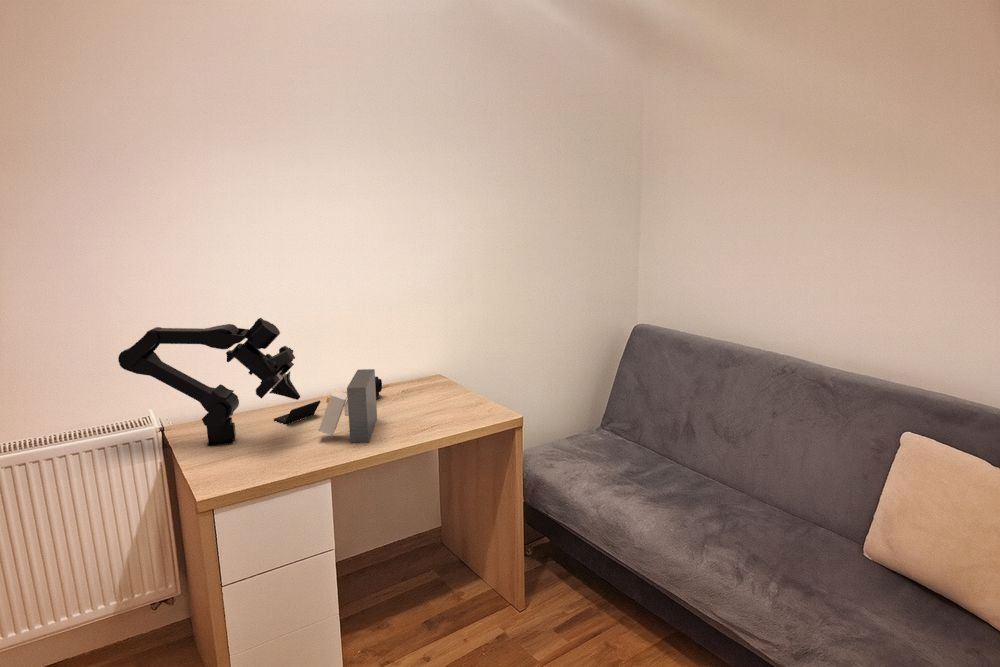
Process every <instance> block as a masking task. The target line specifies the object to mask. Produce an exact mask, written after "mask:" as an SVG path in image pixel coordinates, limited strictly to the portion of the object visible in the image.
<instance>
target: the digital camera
mask: <svg viewBox="0 0 1000 667" xmlns="http://www.w3.org/2000/svg"><path fill="white" fill-rule="evenodd" d="M375 387H376V399H378V398H379V397H380V393H381V392H382V388H383V382H382V378H379V376H375ZM378 396H379V397H378Z"/></svg>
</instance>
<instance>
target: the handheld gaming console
mask: <svg viewBox="0 0 1000 667" xmlns="http://www.w3.org/2000/svg"><path fill="white" fill-rule="evenodd" d="M321 403H322V402H321V400H317V401H315V402H314V401H313V402H311V403H308V404H304V405H302V406H299V407H296V408H293V409H291V410H290V412H289V413H287V414H283V415H280V416H277V417H274V418H273V422H275V421H277V422H276V423H278V422H280V423H279V424H281V423H283V424H282V425H285V424H287V425H290V424H292V422H293V423H295V422H294V421H296V422H298V421H301V420H304V419H306V418H309V417H312V416H314V414H315V415H316V412H317V409H318V408H319V405H320V404H321ZM311 415H312V416H311ZM308 416H309V417H308ZM305 417H306V418H305ZM303 418H304V419H303ZM300 419H301V420H300ZM297 420H298V421H297ZM289 423H290V424H289Z"/></svg>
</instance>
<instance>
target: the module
mask: <svg viewBox="0 0 1000 667" xmlns="http://www.w3.org/2000/svg"><path fill="white" fill-rule="evenodd" d="M347 400H348V397H347V393H345V392H343V391H340V390H338V389H337V390H336V389H334V390H333V391H332V393H331V394H329V395H328V396H327V398H326V401H325V403H326V404H327V405H326V408H325V410H324V414H323V416H322V419H321V422H320V425H319V428H318V430H317V431H318V432H321V433H323V434H325V435H326V434H327V435H329V436H333V435H334V433H335V431H336V429H337V427H338V423H339V421H340V418H341V415H342V412H343V410H344V405H345V403H346V402H347Z"/></svg>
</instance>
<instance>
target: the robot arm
mask: <svg viewBox="0 0 1000 667" xmlns="http://www.w3.org/2000/svg"><path fill="white" fill-rule="evenodd" d="M280 334H281V332H280V329H279V328H278V327H277V326H276V325H275V324H274V323H271V322H270V321H268V320H265V319H263V318H262V317H259V318H257V320H255V322H254V323H253V325H252V326H251V327H250V328H242V327H237V326H236V325H235V324H232V323H227V324H220V325H215V326H211V327H205V328H200V327H199V328H188V327H186V328H183V327H181V328H180V327H175V328H174V327H159V326H157V327H153V328H151V329H149V330H148V331H146V333H145V334H144V335H143V336H142V337H140V338H139V339H138V340H137V341H136V342H135V343H134V344H133V345H131V346H130V347H128V348H126V349H124V350H122V351H120V353H119V355H118V358H117V359H118V364H119V366H120V367H121V369H123V370H124V371H127V372H131V373H134V374H137V375H142V376H150V377H151V378H154V379H155V380H158V381H159V382H161V383H163V384H165V385H167V386H169V387H171V388H172V389H174V390H176V391H178V392H181V393H182V394H184V395H186V396H188V397H189V398H192V399H193V400H195V401H197V402H198V403H199V404H200V405H201V406H202V407H203V409H204V411H206V412H207V413H206V414H205V415H204V416H203V417H202V419H201V421H202V423H203V425H204V426H205V427H206V434H207V443H206V446H207V447H214V446H224V445H231V444H233V442H234V441H235V439H236V436H237V434H236V433H237V432H236V423H235V422H233V417H232V416H233V415H234V412H235V411H236V410H237V408H238V407H239V405H240V400H239V396H238V395H237V394H235V392H234V391H235V390H233V389H229V388H227V387H226V386H225V385H223V384H221V383H220V384H219V385H217V386H216V387H212V386H208V385H206V384H205V383H203V382H202V381H199V380H198V379H195V378H194V377H191V375H188V374H186V373H184V372H182V371H180V370H178V369H176V368H175V367H173V366H172V365H169V364H168V363H165V362H164V361H162V360H161V358H160V356H158V355H157V353H156V352H155V350H157V348H158V347H160V345H161V344H162V345H202V346H203V345H204V346H207V347H208V348H211V349H217V350H227V351H226V352H225V355H226V362H227V363H229V362H231V361H233V360H234V359H235V360H237V361H238V362H239V363H240V364H241V365H242V366H244V367H245V368H246V370H249V371H248V374H249V375H250V376H252V375H254V376H255V377H256V378H258V379H259V380H260V384H259V385H258V386H257V387H256V388H255V395H256V396H258V397H259V398H260V399H263V398H264V397H265V396H266V395H267V394H268V392H269V394H273V395H278V396H282V397H286V398H289V399H293V400H296V401H298V400H299V399H300V398H301V395H300V393H299V391H298V390H297V389H296V387H295V385H294V384H293V382H292V381H291V371H290V370H291V368H292V367H293V366H294V365H295V363H293V361H294V359H296V357H295V354H294V349H292V348H291V347H288V346H286V345H284V346H282V347H281V346H280V347H279V349H278V353H276V354H274V355H271V354H270V353H266V354H265V353H263V352H262V351H261V349H263V350H266V349H268V347H269V346H270V345H271V344H272V343H273V342H274V341H275V340H276V339H277V338H278V336H280ZM245 339H247V340H245ZM244 340H245V342H244V343H241V342H242V341H244ZM236 344H237V345H236ZM235 345H236V346H235ZM233 346H235V347H234V348H233V349H232V350H230V348H231V347H233ZM228 349H229V350H228Z"/></svg>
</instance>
